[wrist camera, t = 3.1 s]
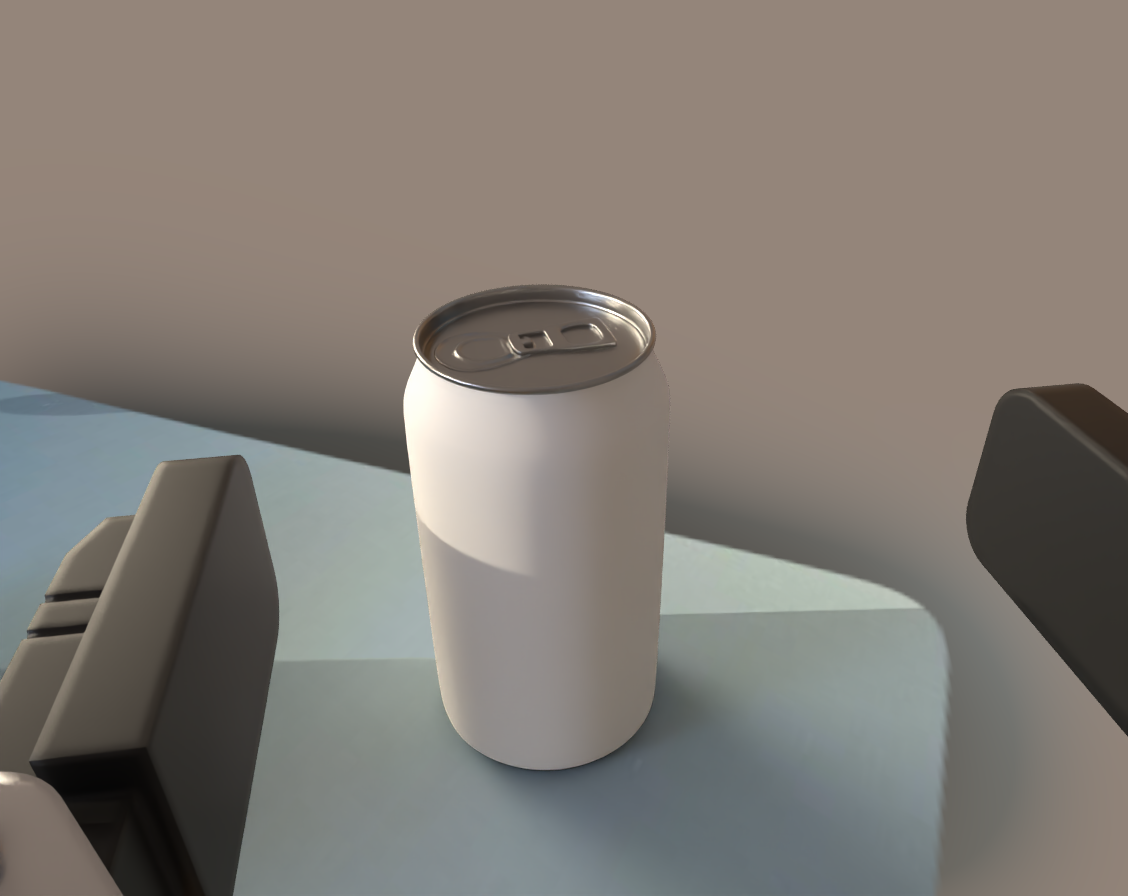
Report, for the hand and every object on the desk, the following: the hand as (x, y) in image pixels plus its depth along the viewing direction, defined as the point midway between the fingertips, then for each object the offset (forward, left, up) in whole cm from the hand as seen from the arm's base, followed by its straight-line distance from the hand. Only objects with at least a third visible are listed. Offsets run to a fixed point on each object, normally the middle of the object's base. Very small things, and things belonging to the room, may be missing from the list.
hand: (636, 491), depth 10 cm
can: (+4, -11, -15) cm, 19 cm away
